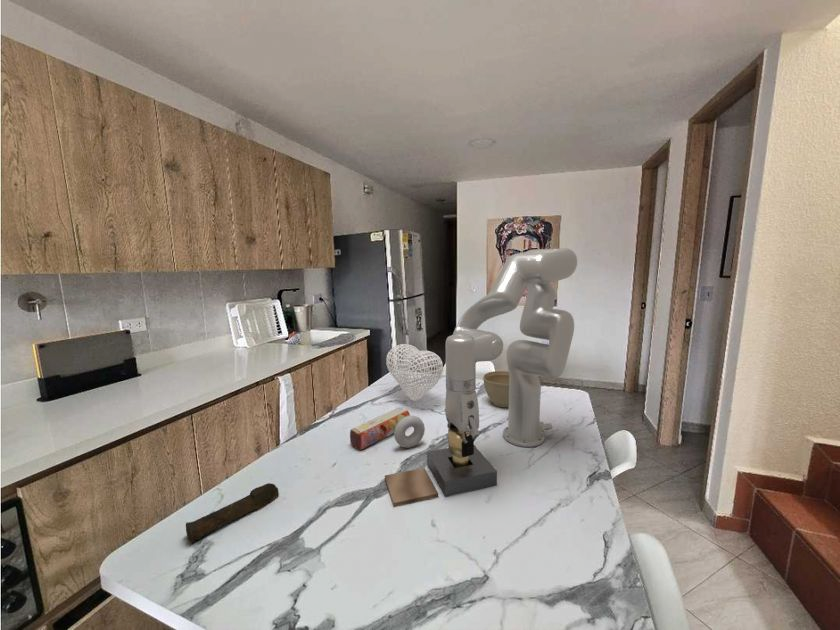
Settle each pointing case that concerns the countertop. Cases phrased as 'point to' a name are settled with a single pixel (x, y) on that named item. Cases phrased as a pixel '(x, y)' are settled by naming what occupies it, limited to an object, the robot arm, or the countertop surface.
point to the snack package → (376, 428)
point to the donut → (403, 426)
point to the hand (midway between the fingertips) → (460, 447)
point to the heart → (414, 352)
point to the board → (410, 487)
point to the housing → (461, 472)
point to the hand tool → (232, 511)
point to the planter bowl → (497, 387)
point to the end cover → (457, 447)
